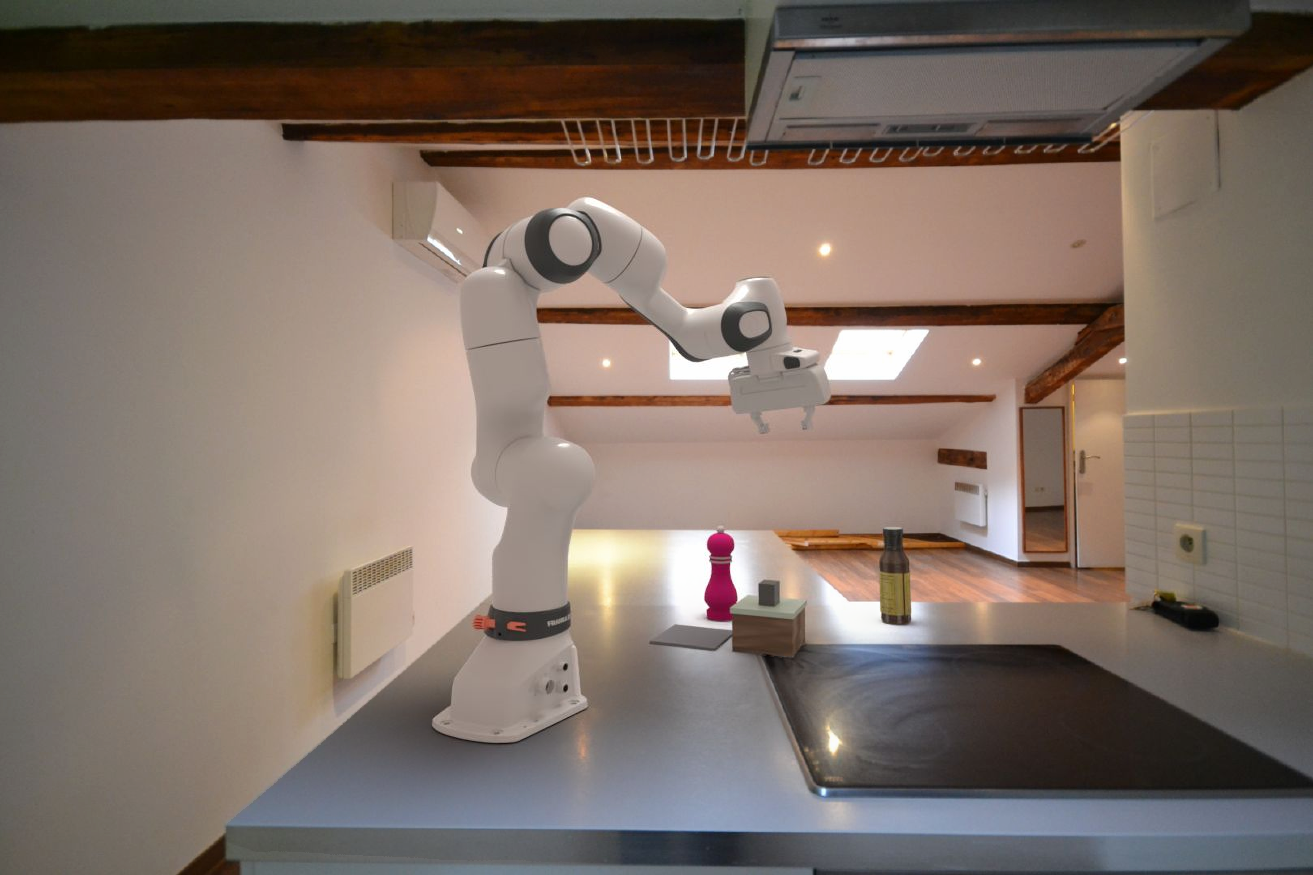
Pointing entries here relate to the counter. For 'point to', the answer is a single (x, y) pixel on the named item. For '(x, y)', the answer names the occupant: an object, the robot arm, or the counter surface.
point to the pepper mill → (720, 577)
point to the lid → (769, 603)
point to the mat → (693, 637)
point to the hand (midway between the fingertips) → (786, 431)
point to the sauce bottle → (894, 579)
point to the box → (768, 634)
